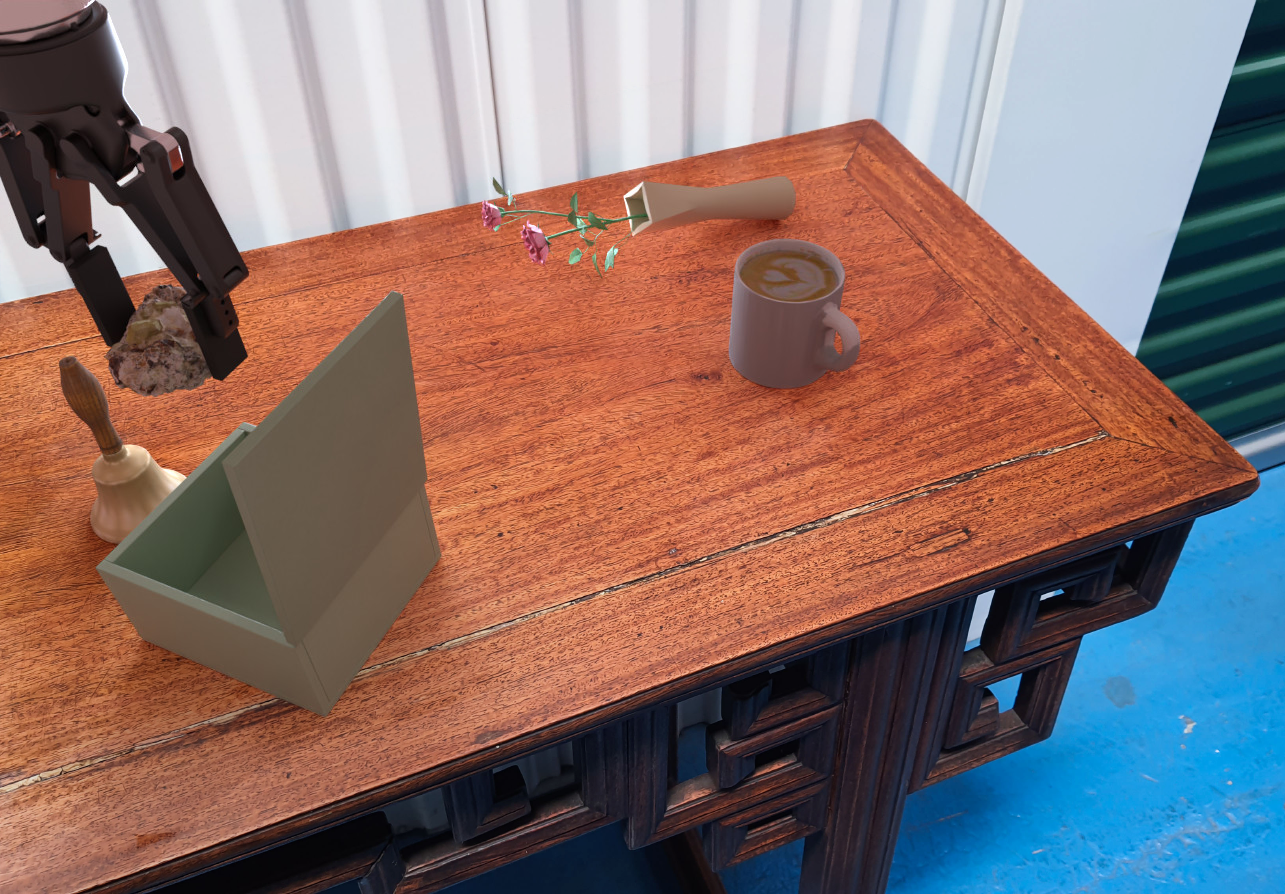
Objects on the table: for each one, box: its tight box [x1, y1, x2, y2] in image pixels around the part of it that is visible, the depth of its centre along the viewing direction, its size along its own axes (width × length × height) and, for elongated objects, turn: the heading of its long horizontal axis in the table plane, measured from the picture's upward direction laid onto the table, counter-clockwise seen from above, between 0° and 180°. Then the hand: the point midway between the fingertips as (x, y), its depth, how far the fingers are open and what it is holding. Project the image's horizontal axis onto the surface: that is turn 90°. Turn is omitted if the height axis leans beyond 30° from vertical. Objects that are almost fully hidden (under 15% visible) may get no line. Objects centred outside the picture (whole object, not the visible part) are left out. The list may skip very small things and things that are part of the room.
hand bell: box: [58, 355, 188, 545], centre depth 78 cm, size 8×8×16 cm
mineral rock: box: [103, 283, 212, 398], centre depth 67 cm, size 11×4×8 cm
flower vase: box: [480, 175, 797, 279], centre depth 106 cm, size 12×12×35 cm
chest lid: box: [222, 290, 428, 647], centre depth 62 cm, size 17×16×1 cm
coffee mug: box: [728, 238, 861, 390], centre depth 92 cm, size 13×10×10 cm
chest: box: [95, 421, 442, 718], centre depth 74 cm, size 17×16×9 cm
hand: (177, 350), depth 67 cm, fingers closed on mineral rock, 8 cm apart
